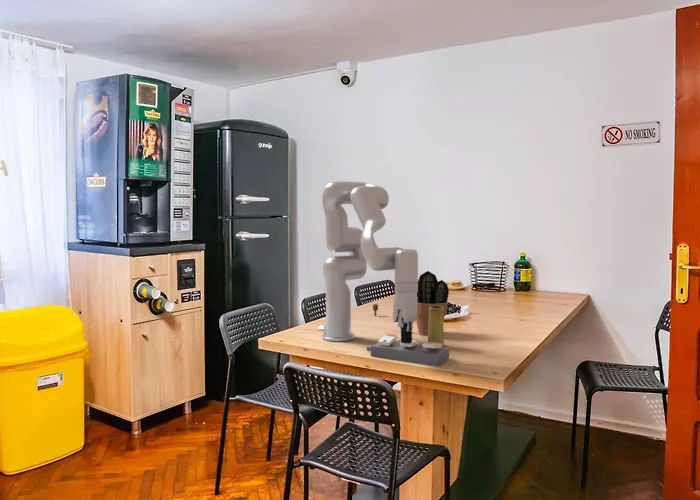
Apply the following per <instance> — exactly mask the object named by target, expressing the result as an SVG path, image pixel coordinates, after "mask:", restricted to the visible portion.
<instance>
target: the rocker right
mask: <svg viewBox="0 0 700 500" xmlns="http://www.w3.org/2000/svg"><path fill="white" fill-rule="evenodd" d="M422 345H423V346H422V347H426V348H442V344H441V343H435V342H429V343H428V342H424V343H422Z"/></svg>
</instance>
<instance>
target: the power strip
mask: <svg viewBox="0 0 700 500" xmlns="http://www.w3.org/2000/svg"><path fill="white" fill-rule="evenodd" d="M400 342H401V341H397V340H395V341H394V342H393V343H392V344H391V345H390V346H386V345H378V342H376V343H375V344H372V345H371V346H366V351H370V357H375V358H382V359H388V360H392V361H401V362H407V363H414V364H419V365H426V366H427V365H429V366H434V367H439V366H441V365H442V364H444V363H445V362H447V361H448V360H450V348H449V347H442V348H426V347H422V346H423V344H420V343H418V344H416V345H414V346H412V347H408V346H400Z"/></svg>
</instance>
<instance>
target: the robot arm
mask: <svg viewBox="0 0 700 500" xmlns="http://www.w3.org/2000/svg"><path fill="white" fill-rule="evenodd" d="M321 195H322V196H321V203H322V207H323V211H324V212H323V213H324V216H325V219H324V220H325V221H324V222H325V242H326V243H325V244H326V248H327V250H328V251H329V252H332V253H348V255H336V256H335V255H334V256H330V257H328V258H327V259H326V260H325V261H324V263H323V264H322V266H323V267H322V270H323V277H324V278H323V279H324V284H325V325H324V324H319V326H318V328H317V330H318V331H320V332H323V333H322V335H321V338H322V339H323V340H325V341H329V342H347V341H351V340H352V341H353V340H354V339H355V337H356V335H355V333H354V332H352V328H351V326H352V322H351V321H352V319H351V318H352V316H351V315H352V305H351V302H352V301H351V299H352V298H351V290H350V287H349V285H348V284H347V282H346V281H351V280H361V279H363V277H365V275H366V273H367V268H368V267H369V268H370V269H371V270H373V271H376V272H381V271H382V272H383V271H394V296H393V297H394V298H393V309H392V311H393V312H392V322H394V323H397V327H398V328H400V329H399V330H400V342H401V343H408V344H409V343H411V342H412V338H413V327H414V325H413V324H414V323H415V322H416V320H415V319H416V318H417V316H418V302H417V299H418V298H417V292H418V280H419V253H418V251H417V250H416V249H412V248H411V249H410V248H402V247H397V246H394V247H379V246H378V245H377V243H376V241H375V236H374V234H375V233H377V232H378V231H380V230H381V229H382V228H384V226H385V225H386V223H387V219H386V216H385V215H384V212H383V209H386V208H387V206H388V205H389V201H390V200H389V199H390V197H389V194H388V191H387V190H386V189H385V188H384V187H383V186H380V185H376V184H372V183H368V182H364V181H362V182H361V181H349V180H347V181H346V180H345V181H343V180H338V181H337V180H336V181H332V182H329V183H328V184H326V185H325V187H324V188H323V191H322V194H321ZM342 205H352V207H353V208H354V209H353V210H354V211H355V213H356V215H357V218H358V221H359V223H360V224H361V227H362V229H361V228H360V227H355V226H351V227H350V226H349V223H348V221H349V220H348V214H347V212H346V210H345V208H344V206H342Z"/></svg>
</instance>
